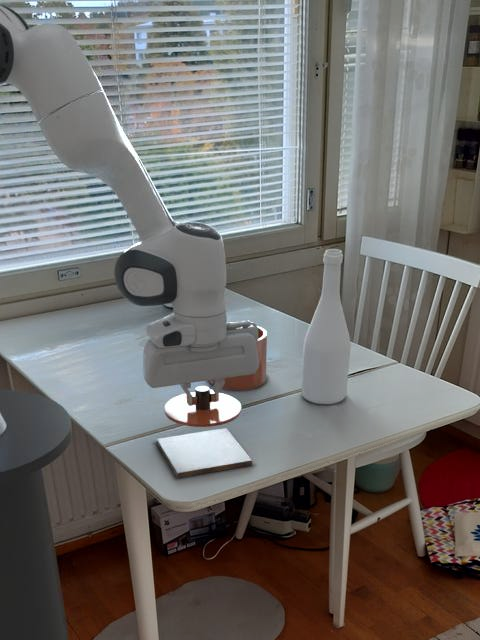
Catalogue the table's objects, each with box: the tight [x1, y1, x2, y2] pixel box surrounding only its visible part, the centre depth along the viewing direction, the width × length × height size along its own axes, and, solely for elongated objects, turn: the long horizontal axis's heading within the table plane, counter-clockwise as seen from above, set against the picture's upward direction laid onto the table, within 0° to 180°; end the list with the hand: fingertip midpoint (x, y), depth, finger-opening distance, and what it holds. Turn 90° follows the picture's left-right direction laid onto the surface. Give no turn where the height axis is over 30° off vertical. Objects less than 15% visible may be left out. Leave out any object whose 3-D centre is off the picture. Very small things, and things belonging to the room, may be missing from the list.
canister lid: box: [163, 385, 242, 428], centre depth 138 cm, size 14×14×5 cm
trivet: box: [155, 427, 253, 479], centre depth 144 cm, size 14×14×1 cm
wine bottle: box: [300, 248, 352, 405], centre depth 158 cm, size 10×10×30 cm
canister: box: [208, 325, 268, 391], centre depth 171 cm, size 13×13×10 cm
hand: (202, 402), depth 139 cm, fingers closed on canister lid, 2 cm apart
